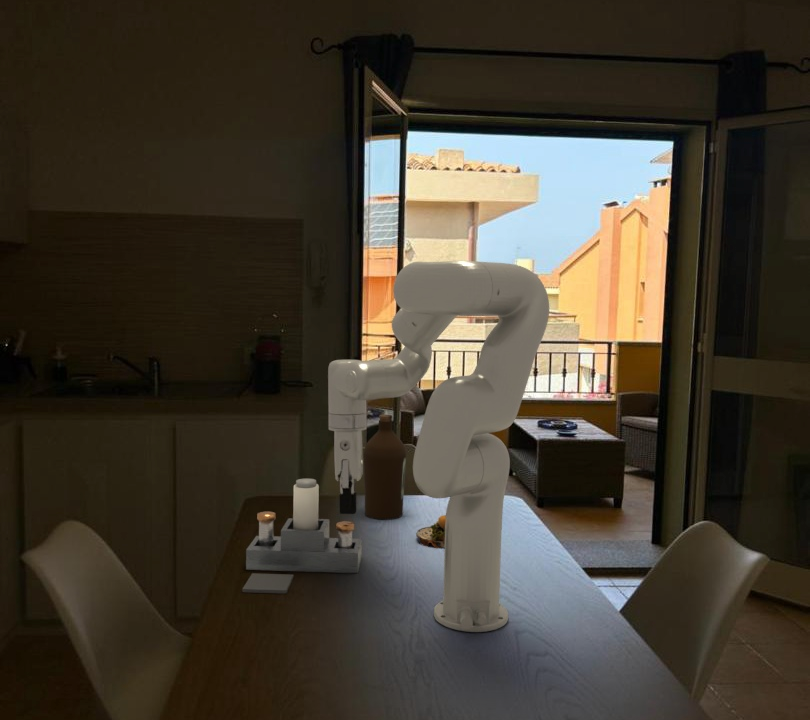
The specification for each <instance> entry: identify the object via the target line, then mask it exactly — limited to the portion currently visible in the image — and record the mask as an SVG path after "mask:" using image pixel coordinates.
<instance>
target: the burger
mask: <svg viewBox="0 0 810 720" xmlns="http://www.w3.org/2000/svg"><path fill="white" fill-rule="evenodd" d="M445 519H446V514H444V515H440V517H438V520H437V521H436V522H435V523H433V524H432V525H430V526H426V527H422V528H419V529H418V530H417V531H416V533H415V534H416V537H417V538H418V539H419V540H420V545H422V546H426V547H429V543H431V545H432V546H433V547H434V548H435V549H440V548H441V549H445Z"/></svg>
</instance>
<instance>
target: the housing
mask: <svg viewBox="0 0 810 720" xmlns="http://www.w3.org/2000/svg"><path fill="white" fill-rule="evenodd" d="M362 541H363V539H362V538H352V549H342V548H338V537H330V519H328V518H318V530H299V529H293V517H292V518H287V520H286V522H285V523H284V525H283V526H282V528H281V530H280V536H278V535H277V536H275V535H273V546H259V535H255V537H254V538H253V540H252V541H251V542H250V544H249V545H248V546H247V547H246V549H245V556H246V557H245V558H246V559H245V570H247V571H272V572H274V571H275V572H276V571H279V572H305V573H306V572H308V573H309V572H311V573H340V574H341V573H343V574H344V573H345V574H348V573H349V574H359V568H360V565H361V561H362V550H363V549H362V547H363V545H362V544H363V543H362Z"/></svg>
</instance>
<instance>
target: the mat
mask: <svg viewBox="0 0 810 720" xmlns="http://www.w3.org/2000/svg"><path fill="white" fill-rule="evenodd" d="M294 575H295V574H290V573H288V574H285V573H283V574H281V573H254V572H253V573H251V575H250V576H249V578H248V580H247V581H246V583H245V584H244V585H243V587H242V588H241V590H242V591H241V593H255V594H259V593H260V594H285V595H286V594H287V593H288V590H289V589H290V586H291V585H292V583H293V579H294V577H295V576H294Z"/></svg>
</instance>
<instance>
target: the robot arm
mask: <svg viewBox="0 0 810 720" xmlns="http://www.w3.org/2000/svg"><path fill="white" fill-rule="evenodd" d="M392 289H393V290H392V291H393V298H394V300H395V303H396V305H397V306H398V307H399V310H398V311H397V312H396V314H395V315H394V316H393V318H392V320H391V329H392V332H393V335H394V336H395V337H396V340H397V341H399V342H400V344H402V346H404V347H403V348H402V349H401V350H400V352H399V353H398V354H397V355H396V356H395V357H394V358H390V359H389V358H388V359H387V358H386V359H372V360H360V359H336V360H333V361H331V362H329V365H328V367H327V368H328V370H327V373H328V374H327V379H328V383H327V384H328V385H327V387H328V389H327V390H328V392H327V393H328V399H327V400H328V430H329V431H332V432H334V436H333V438H334V444H333V445H334V447H333V450H334V451H333V454H334V478H335V480H336V481H337V482H339V492H340V493H339V514H341V515H355V514H356V513H357V492H356V490H357V489H356V484H357V483H356V482H359V481H360V480H361V478H362V477H363V475H364V450H363V446H364V445H363V431H365V430H367V401H373V400H380V399H391V398H399V397H401V396H405V395H406V394H408V393H409V392H411V390H412V389H414V388H415V387H416V385H418V383H420V381H421V380H422V379H423V378H424V376H425V375H426V374H427V373H428V371H429V368H430V365H431V361H432V355H433V349H432V346H433V345H434V343H435V341H437V340H438V338H439V337H440V336H441V335H442V333H443V332H444V331H445V330H446V329H447V328H448V327H449V326H450V324H451V323H452V322H453V321H454V320H455V318H456V317H498V321H497V323H496V324H495V326H494V327H493V328H492V329H491V331H490V332H489V333H488V335H487V336H486V338H485V340H484V342H483V344H482V347H481V349H480V354H479V358H478V361H477V364H476V366H475V368H474V370H473V372H472V373H471V374H468V375H459V376H454V377H450V378H448V379H445V380H443V381H442V382H441V383H440V384H438V385H437V386H436V388H435V389H434V391H433V392H432V393H431V395H430V397H429V399H428V403H427V405H426V409H425V412H424V417H423V421H422V423H421V427H420V431H419V435H418V439H417V442H416V447H415V450H414V454H413V461H412V473H413V474H412V475H413V478H414V482H415V485H416V486H417V488H418V490H419V491H420V492H421V493H422V494H423V495H425V496H427V497H428V498H433V499H447V498H449V499H448V503H447V506H446V510H445V515H446V519H445V547H444V552H443V553H444V555H443V556H444V557H443V558H444V561H443V594H442V595H443V598H442V600H441V601H439V602H438V603H437V604H435V605H434V608H433V616H434V617H433V618H434V619H435V620H436V621H437V622H438V624H441V625H442V626H444V627H446V628H449V629H452V630H455V631H460V632H468V633H469V632H470V633H482V632H483V633H484V632H485V633H486V632H491V631H495V630H498V629H500V628H503V626H505V625H507V622H508V620H509V611H508V610H507V608H506V607H505V606H504V605H502V604H501V603H500V592H501V589H500V588H501V587H500V586H501V584H500V583H501V557H502V556H501V554H502V529H503V512H504V511H503V509H504V500H505V493H506V488H507V484H508V480H509V474H510V466H511V463H510V462H511V459H510V454H509V451H508V448H507V446H506V444H504V442H503V441H502V439H500V438H499V437H497V436H496V435H494V434H492V433H496V432H501V431H504V430H506V429H509V427H511V426H512V424H513V423H514V422H515V420H516V418H517V415H518V413H519V410H520V408H521V404H522V400H523V397H524V395H525V391H526V388H527V385H528V382H529V379H530V375H531V372H532V368H533V364H534V362H535V359H536V356H537V353H538V350H539V348H540V345H541V343H542V340H543V337H544V335H545V332H546V329H547V326H548V322H549V316H550V300H549V299H550V298H549V296H548V292H547V290H546V289H547V288H546V286H545V285H544V284H543V281H542V280H541V279H540V278H539V276H538V275H537V274H536V273H535V272H533V271H532V270H530V269H528V268H527V267H525V266H521V265H517V264H513V263H506V262H494V261H493V262H491V261H490V262H488V261H476V260H449V261H448V260H447V261H444V260H443V261H414V262H411V263H408V264H406V265H405V266H404V267H403V268H401V270H399V272H398V273H397V274H396V277H395V280H394V283H393V288H392Z"/></svg>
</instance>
